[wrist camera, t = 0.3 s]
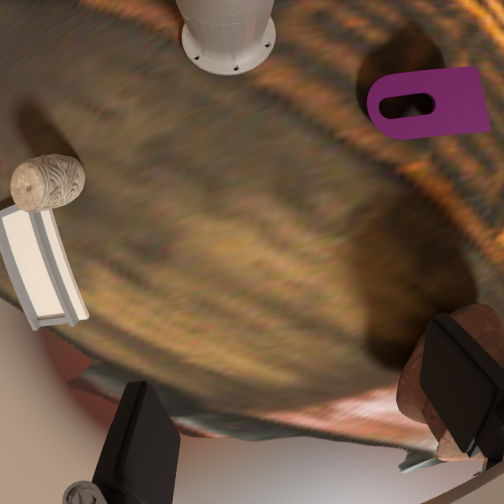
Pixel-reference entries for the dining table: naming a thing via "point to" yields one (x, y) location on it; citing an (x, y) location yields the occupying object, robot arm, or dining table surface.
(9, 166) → the dining table surface
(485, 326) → the pottery vessel
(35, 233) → the rail plate
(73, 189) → the carving
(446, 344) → the robot arm
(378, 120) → the mounting bracket
